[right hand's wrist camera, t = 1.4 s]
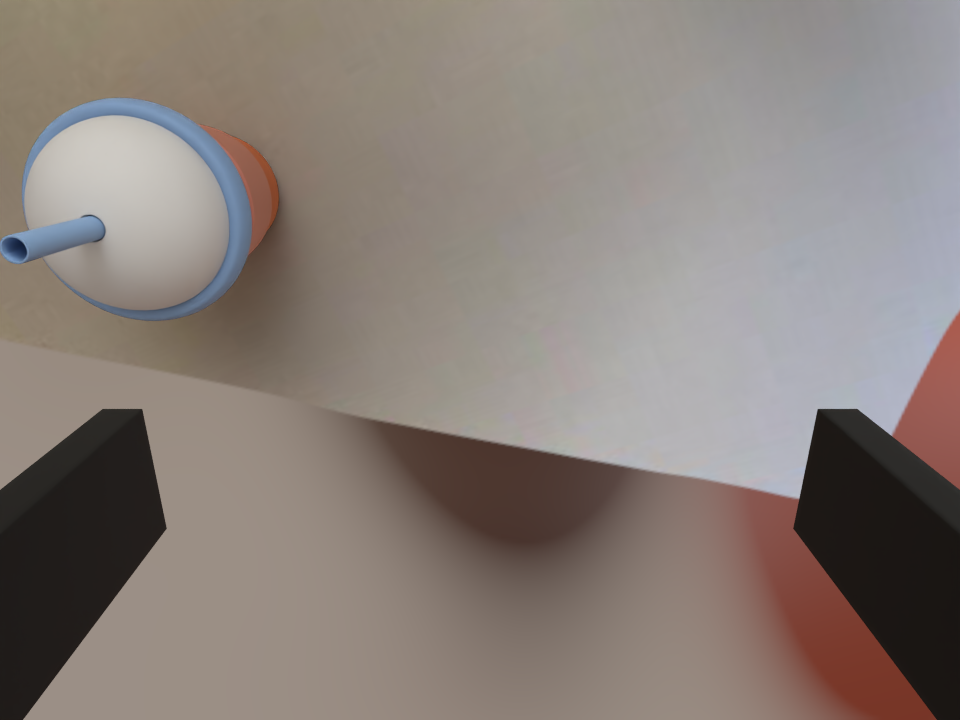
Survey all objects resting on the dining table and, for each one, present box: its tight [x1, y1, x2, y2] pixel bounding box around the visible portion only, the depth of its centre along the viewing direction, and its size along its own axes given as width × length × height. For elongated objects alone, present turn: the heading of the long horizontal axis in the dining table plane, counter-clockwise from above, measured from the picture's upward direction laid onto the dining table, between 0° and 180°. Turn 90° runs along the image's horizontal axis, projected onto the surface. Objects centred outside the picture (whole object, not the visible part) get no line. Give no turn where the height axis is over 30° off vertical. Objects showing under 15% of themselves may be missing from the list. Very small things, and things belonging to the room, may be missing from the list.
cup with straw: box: [0, 98, 279, 321], centre depth 28 cm, size 9×9×18 cm
